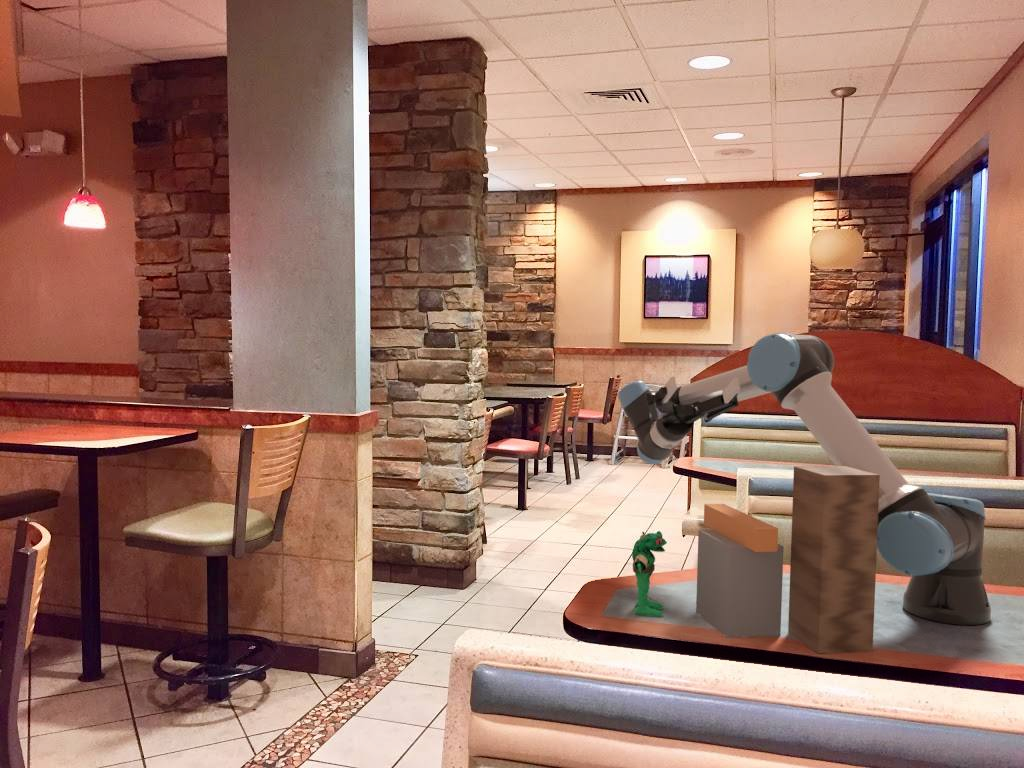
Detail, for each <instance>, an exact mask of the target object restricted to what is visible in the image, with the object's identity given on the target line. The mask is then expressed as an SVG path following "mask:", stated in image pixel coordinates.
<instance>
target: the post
mask: <svg viewBox="0 0 1024 768" xmlns="http://www.w3.org/2000/svg"><path fill="white" fill-rule="evenodd" d="M879 480H880V475H878V474H874V473H870V472H866V471H863V470H859V469H855V468H851V467H847V466H836V465H833V466H832V465H827V466H826V465H825V466H823V465H822V466H819V465H818V466H817V465H816V466H813V465H812V466H807V465H806V466H799V465H798V466H793V483H792V484H793V485H792V488H793V489H792V511H791V512H792V513H791V514H792V515H791V536H790V538H791V539H790V541H791V542H790V543H791V545H790V565H789V566H790V568H789V569H790V572H789V595H788V596H789V597H788V623H787V625H788V626H787V627H788V628H787V634H789V635H790V636H791V637H793V638H794V639H796V640H797V641H799V642H800V643H802V644H803V645H805V647H808V648H809V649H810V650H812V651H813V652H815V653H816V654H818V655H823V654H822V653H827V654H843V653H845V652H846V653H847V654H848V653H861V652H862V653H864V652H865V651H867V652H873V650H874V649H873V648H874V631H875V630H874V628H875V627H874V625H875V623H874V622H875V603H876V602H875V600H876V577H877V576H876V574H877V573H876V572H877V551H878V549H877V530H878V505H879ZM819 653H821V654H819Z"/></svg>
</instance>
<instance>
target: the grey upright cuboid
mask: <svg viewBox="0 0 1024 768" xmlns="http://www.w3.org/2000/svg"><path fill="white" fill-rule="evenodd" d="M697 535H698V536H697V537H698V539H697V565H696V566H697V567H696V568H697V570H696V571H697V573H696V575H697V576H696V601H695V602H696V605H695V613H696V614H697V615H699V616H700V617H701V618H703V619H704V621H706V622H707V623H708V624H710V626H712V627H714V628H715V629H716V630H717V631H718V632H719V633H720V634H722V635H723V636H724V635H725V636H724V637H726V638H728V639H733V638H732V637H738V638H754V637H777V636H781V634H782V633H781V629H782V627H781V626H782V603H783V602H782V601H783V575H784V573H783V572H784V571H783V570H784V548H785V547H784V546H783V545H782V544H780V543H778V546H777V551H776V552H755V551H753V550H751V549H749V548H747V547H745V546H743V545H742V544H740V543H738V542H736V541H734V540H732V539H730V538H729V537H727V536H725V535H723V534H721V533H719V532H717V531H716V530H714V529H712V528H711V529H710V528H709V529H698V534H697Z"/></svg>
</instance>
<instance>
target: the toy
mask: <svg viewBox="0 0 1024 768" xmlns="http://www.w3.org/2000/svg"><path fill="white" fill-rule="evenodd" d="M641 533H642V535H640V537H639V539H637V540H636V541H635V543H634V545H633V549H632V551H631V556H632V557H631V558H632V571H633V573H634V574H635V577H636V586H637V599H638V600H637V601H636V603H635V607H636V608H635V609H634V614H635V615H639V616H649V617H660V618H661V617H664V612H663V611H661V610H664V607H665V606H664V605H663V604H661V603H659V602H656V601H652V600H651V599H649V598H648V596H649V595H648V594H649V589H650V584H651V582H650V580H651V579H650V578H651V576H652V575H653V573H654V572H655V562H656V557H655V555H654V553H653V552H657V553H662V552H666V550H665V549H664V547H663V546H665V545H666V544H667V543H668V542H667V541H666V539H665V538H663V533H662V532H661V531H660V530H658V531H657V532H656V533H654V532H649V533H646V534H645V531H642V532H641ZM652 551H653V552H652Z"/></svg>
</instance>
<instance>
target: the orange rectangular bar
mask: <svg viewBox="0 0 1024 768" xmlns="http://www.w3.org/2000/svg"><path fill="white" fill-rule="evenodd" d="M703 525H704V526H707V527H708V528H709V529H710V528H711V529H714V530H716V531H717V532H719V533H721V534H723V535H725V536H727V537H729V538H730V539H732V540H734V541H736V542H738V543H740V544H742V545H743V546H745V547H747V548H749V549H751V550H753V551H755V552H776V551H777V546H778V544H779V543H778V542H779V528H778V527H776V526H773V525H772V524H769V523H767V522H765V521H762V520H760V519H758V518H756V517H755V516H751V515H749V514H747V513H745V512H743V511H740V510H738V509H736V508H734V507H732V506H730V505H727V504H726V503H704V505H703Z"/></svg>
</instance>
